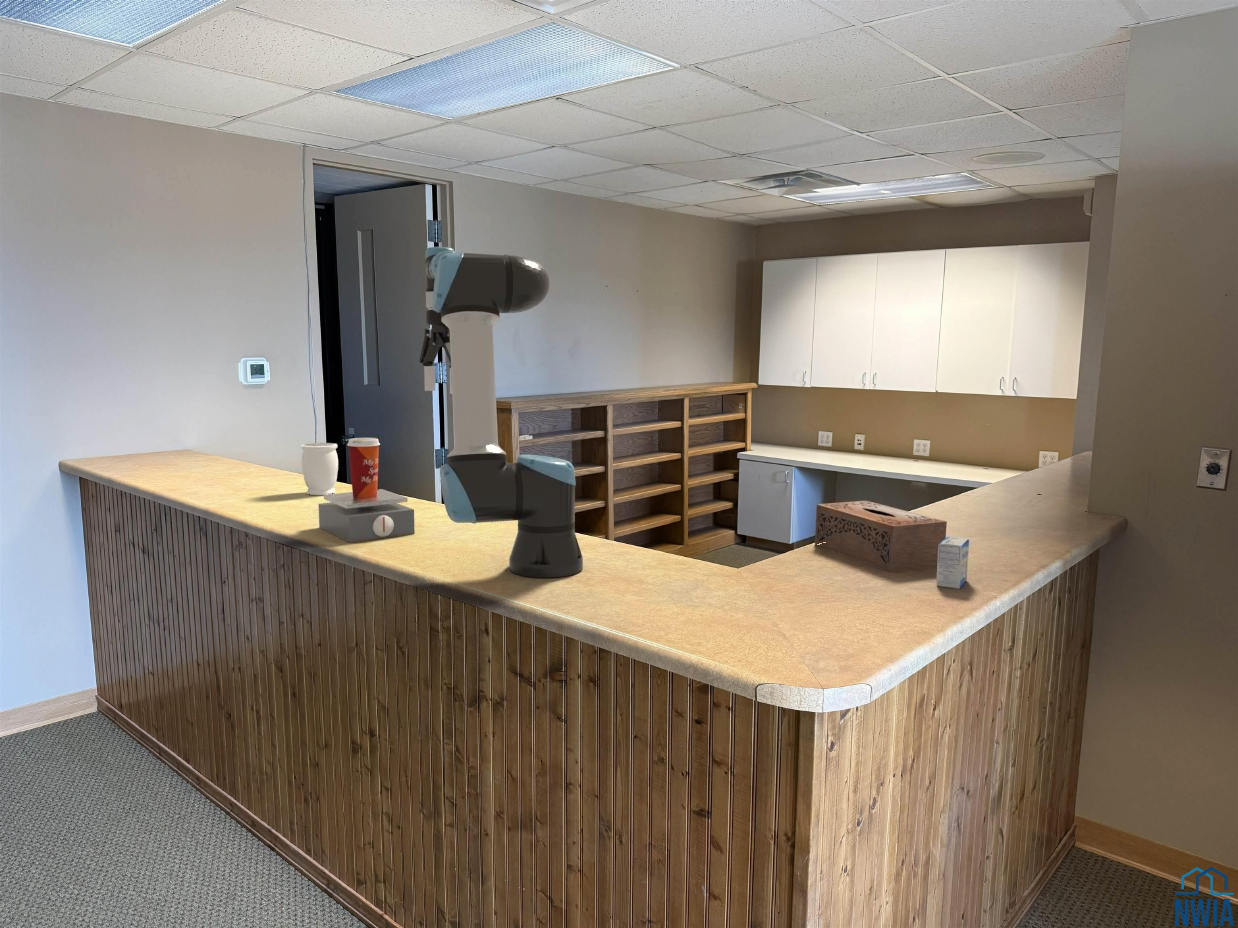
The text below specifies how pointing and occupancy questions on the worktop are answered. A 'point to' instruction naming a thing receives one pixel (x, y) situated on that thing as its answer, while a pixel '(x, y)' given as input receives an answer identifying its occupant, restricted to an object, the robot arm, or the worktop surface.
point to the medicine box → (952, 562)
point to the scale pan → (365, 499)
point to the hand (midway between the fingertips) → (442, 392)
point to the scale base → (366, 521)
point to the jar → (320, 467)
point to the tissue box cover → (879, 535)
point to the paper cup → (364, 466)
